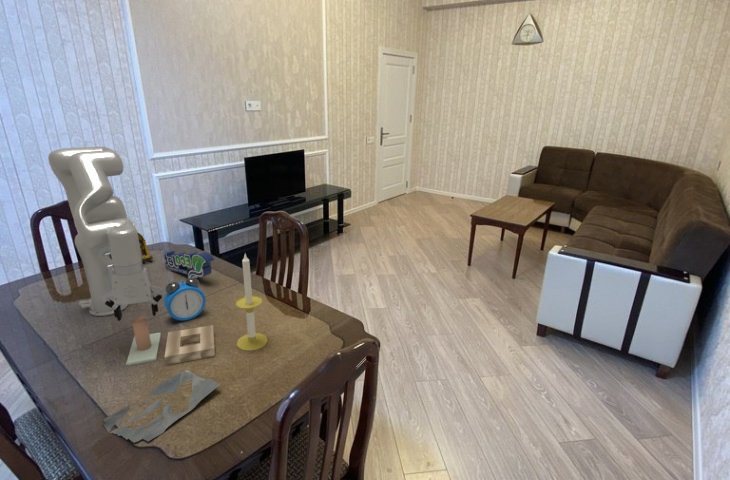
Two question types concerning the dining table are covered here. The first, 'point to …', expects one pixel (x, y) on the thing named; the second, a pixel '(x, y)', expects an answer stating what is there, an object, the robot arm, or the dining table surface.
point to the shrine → (143, 248)
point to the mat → (145, 355)
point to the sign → (189, 263)
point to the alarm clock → (184, 299)
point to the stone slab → (200, 390)
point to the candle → (249, 313)
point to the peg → (141, 333)
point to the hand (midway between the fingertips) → (137, 316)
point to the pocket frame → (191, 352)
